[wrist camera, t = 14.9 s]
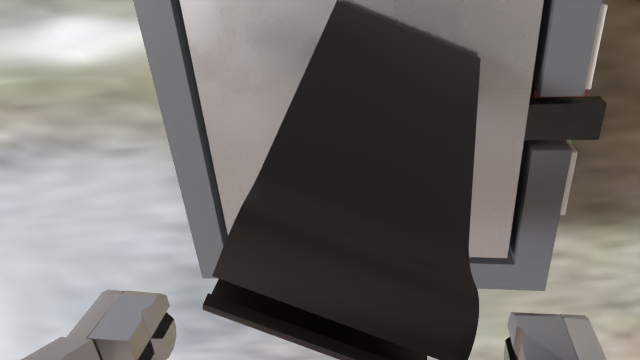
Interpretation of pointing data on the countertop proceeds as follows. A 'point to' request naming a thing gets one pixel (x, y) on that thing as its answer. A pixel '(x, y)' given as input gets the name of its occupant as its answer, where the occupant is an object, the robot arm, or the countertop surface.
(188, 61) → the scale housing
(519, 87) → the pan
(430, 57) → the phone stand
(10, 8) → the countertop surface
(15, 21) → the countertop surface
